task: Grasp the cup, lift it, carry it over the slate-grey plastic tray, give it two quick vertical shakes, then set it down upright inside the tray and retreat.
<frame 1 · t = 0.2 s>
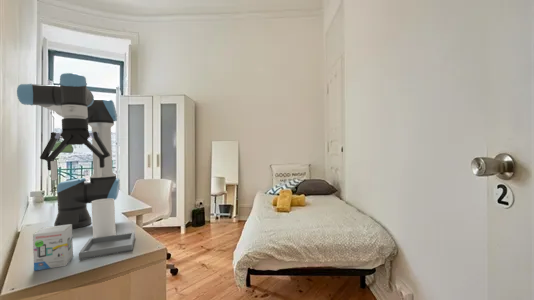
hand: (77, 178, 93), 27 cm above the table, fingers open, 13 cm apart
cup: (104, 238, 112), on the table
tray: (110, 247, 100), on the table
ink box: (54, 263, 87), on the table
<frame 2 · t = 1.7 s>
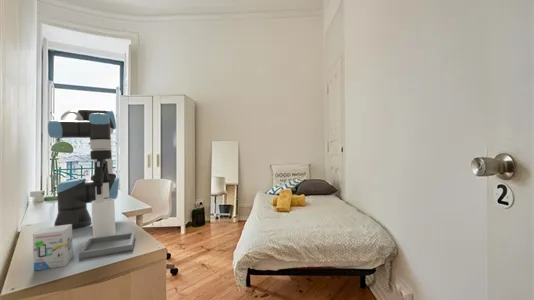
hand: (103, 199, 111), 16 cm above the table, fingers open, 13 cm apart
nothing on the table moved.
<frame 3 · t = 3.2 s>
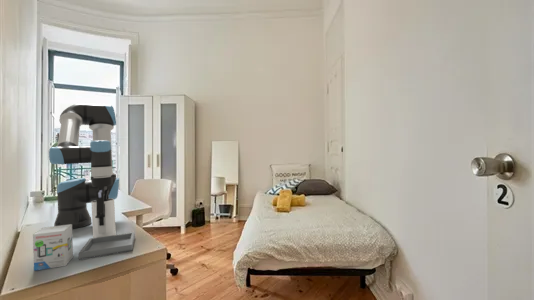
hand: (104, 229, 112), 3 cm above the table, fingers closed on cup, 8 cm apart
cup: (104, 238, 112), on the table, touching gripper
everything else where it was.
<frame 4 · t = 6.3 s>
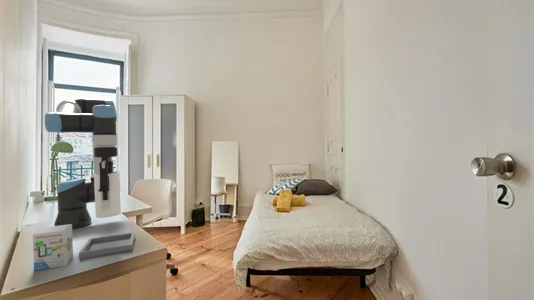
hand: (108, 206, 100), 16 cm above the table, fingers closed on cup, 8 cm apart
cup: (108, 215, 100), point 12 cm above the table, touching gripper
everything else where it was.
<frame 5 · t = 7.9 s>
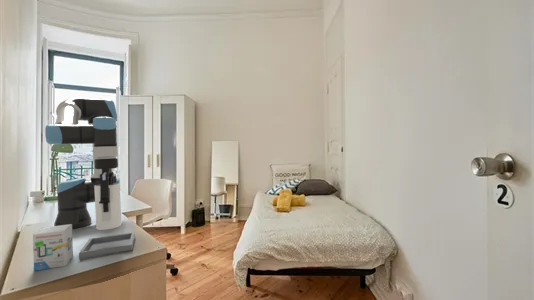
hand: (108, 217, 99), 11 cm above the table, fingers closed on cup, 8 cm apart
cup: (109, 226, 99), point 8 cm above the table, touching gripper
everything else where it was.
when the fingers open (5 cm above the table, at t = 9.4 s): cup drops 1 cm, resting on tray.
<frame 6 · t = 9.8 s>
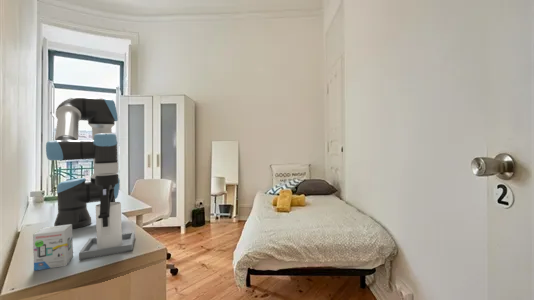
hand: (109, 230, 100), 7 cm above the table, fingers open, 13 cm apart
cup: (110, 246, 100), resting on tray
everything else where it was.
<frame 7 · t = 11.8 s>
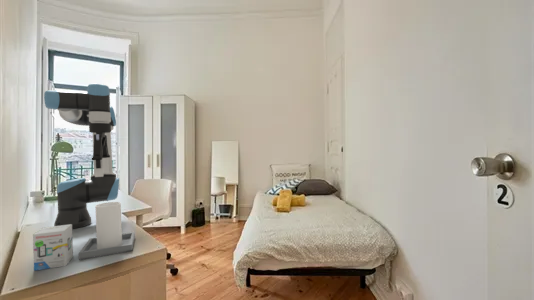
hand: (102, 174, 108), 27 cm above the table, fingers open, 13 cm apart
nothing on the table moved.
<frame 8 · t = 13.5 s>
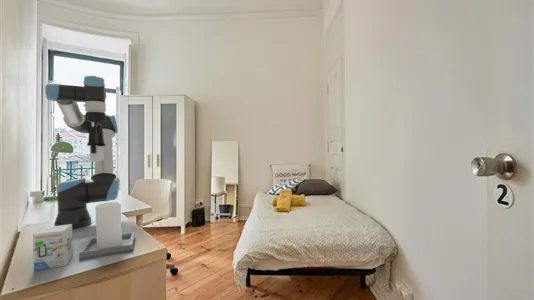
hand: (97, 161, 114), 33 cm above the table, fingers open, 13 cm apart
nothing on the table moved.
at the end: cup inside the target area on the tray (0.1 cm from its centre), point 0.4 cm above the tray's base; cup tilted 0°; the gripper is holding nothing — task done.
